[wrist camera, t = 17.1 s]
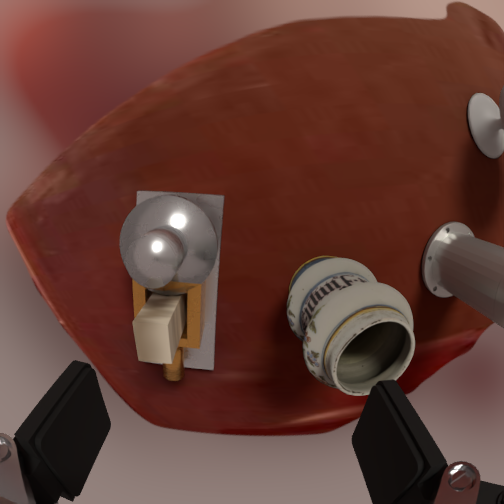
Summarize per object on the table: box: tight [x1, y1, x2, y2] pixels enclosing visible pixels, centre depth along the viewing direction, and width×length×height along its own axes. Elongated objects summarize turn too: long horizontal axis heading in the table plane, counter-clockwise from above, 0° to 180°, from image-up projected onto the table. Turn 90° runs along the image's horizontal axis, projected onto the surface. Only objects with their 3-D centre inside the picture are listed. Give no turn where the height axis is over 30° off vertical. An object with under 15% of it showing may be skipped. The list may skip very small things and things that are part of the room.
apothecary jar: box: [287, 256, 415, 396], centre depth 31 cm, size 12×12×18 cm
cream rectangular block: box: [133, 292, 188, 364], centre depth 32 cm, size 4×4×12 cm
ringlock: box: [120, 191, 225, 381], centre depth 32 cm, size 11×25×13 cm, turn 175°
